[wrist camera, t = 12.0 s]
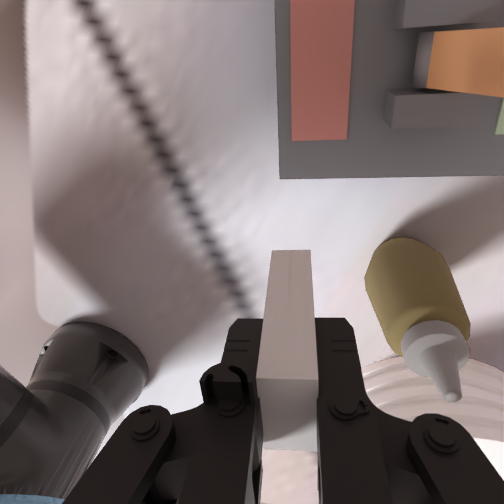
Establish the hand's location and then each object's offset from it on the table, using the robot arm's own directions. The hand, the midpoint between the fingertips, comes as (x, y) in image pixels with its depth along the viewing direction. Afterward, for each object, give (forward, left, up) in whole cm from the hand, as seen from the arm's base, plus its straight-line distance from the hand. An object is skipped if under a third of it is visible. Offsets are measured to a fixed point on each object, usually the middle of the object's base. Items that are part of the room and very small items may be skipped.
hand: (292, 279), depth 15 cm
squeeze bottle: (+10, -13, -24) cm, 30 cm away
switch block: (+8, +7, -24) cm, 26 cm away
